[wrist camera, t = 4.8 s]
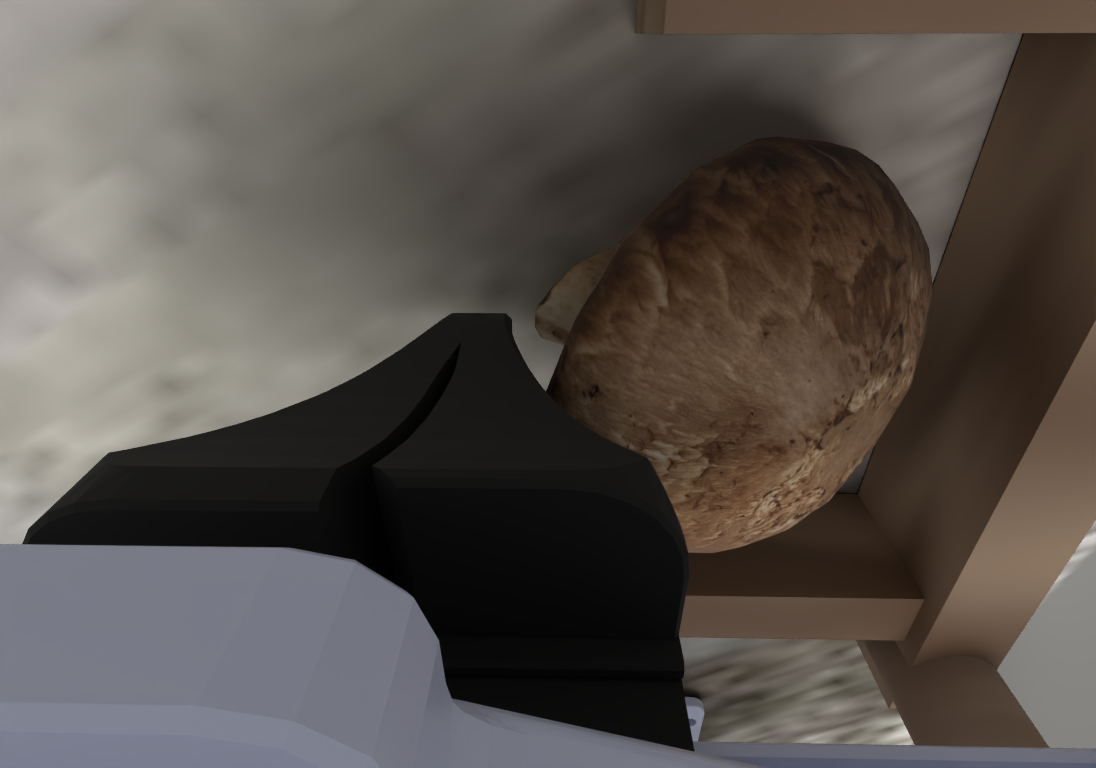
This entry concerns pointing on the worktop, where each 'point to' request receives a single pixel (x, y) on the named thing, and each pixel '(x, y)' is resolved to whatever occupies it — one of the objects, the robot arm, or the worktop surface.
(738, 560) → the wooden crate
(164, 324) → the worktop surface
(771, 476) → the mushroom
